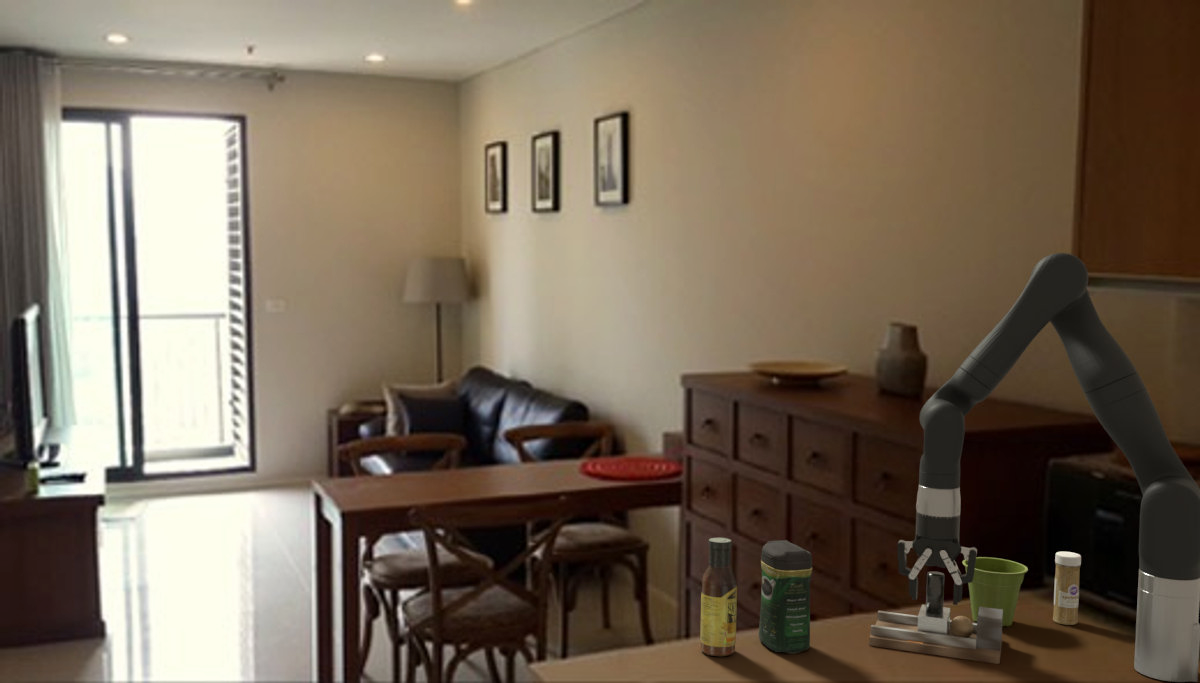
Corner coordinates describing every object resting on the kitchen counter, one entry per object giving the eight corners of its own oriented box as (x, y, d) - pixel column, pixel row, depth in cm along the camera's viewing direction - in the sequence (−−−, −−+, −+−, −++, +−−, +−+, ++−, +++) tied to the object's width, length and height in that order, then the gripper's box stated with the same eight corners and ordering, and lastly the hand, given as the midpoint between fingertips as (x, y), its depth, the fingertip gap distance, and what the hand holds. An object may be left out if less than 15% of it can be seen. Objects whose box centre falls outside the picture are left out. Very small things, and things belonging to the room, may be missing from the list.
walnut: (973, 636, 195) (974, 614, 195) (972, 643, 191) (973, 621, 191) (950, 633, 196) (951, 611, 196) (948, 640, 193) (949, 618, 192)
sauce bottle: (734, 659, 185) (737, 546, 184) (697, 656, 187) (700, 543, 185) (737, 646, 192) (739, 536, 190) (702, 643, 193) (704, 534, 192)
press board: (1001, 640, 197) (1003, 605, 197) (999, 664, 185) (1001, 627, 185) (879, 623, 206) (880, 590, 205) (869, 645, 194) (870, 609, 193)
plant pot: (1035, 633, 202) (1037, 574, 201) (971, 631, 202) (973, 572, 201) (1012, 613, 214) (1015, 557, 213) (952, 611, 214) (954, 555, 213)
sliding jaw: (949, 629, 198) (951, 570, 197) (946, 641, 191) (948, 580, 191) (921, 625, 200) (923, 567, 199) (917, 637, 193) (919, 577, 193)
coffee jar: (816, 653, 189) (820, 549, 188) (775, 657, 187) (778, 551, 186) (792, 634, 199) (795, 535, 197) (752, 638, 196) (755, 538, 195)
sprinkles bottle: (1067, 627, 205) (1070, 557, 205) (1047, 620, 209) (1050, 552, 209) (1083, 623, 208) (1086, 555, 207) (1063, 616, 212) (1066, 549, 211)
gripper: (981, 510, 195) (977, 600, 196) (899, 502, 200) (896, 590, 201) (979, 518, 188) (975, 612, 189) (894, 510, 193) (891, 601, 194)
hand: (934, 600), depth 195 cm, fingers open, 6 cm apart
